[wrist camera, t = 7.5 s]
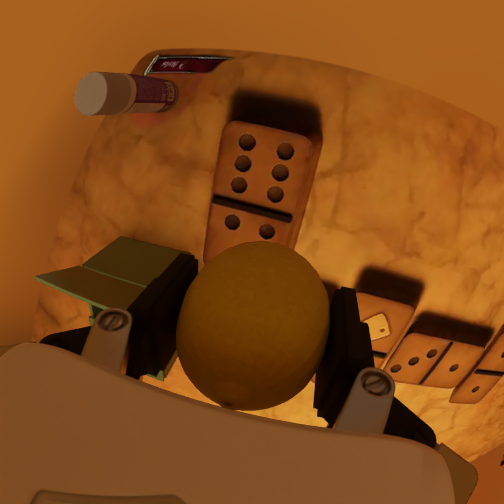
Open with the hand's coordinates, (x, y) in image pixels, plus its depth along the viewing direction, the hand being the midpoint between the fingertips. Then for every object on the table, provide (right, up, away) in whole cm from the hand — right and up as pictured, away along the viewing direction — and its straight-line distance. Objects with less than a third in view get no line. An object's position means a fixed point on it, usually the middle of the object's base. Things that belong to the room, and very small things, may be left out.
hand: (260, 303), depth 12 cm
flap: (-19, -2, +19) cm, 27 cm away
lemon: (+1, +1, +3) cm, 3 cm away
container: (-12, +23, +23) cm, 35 cm away
